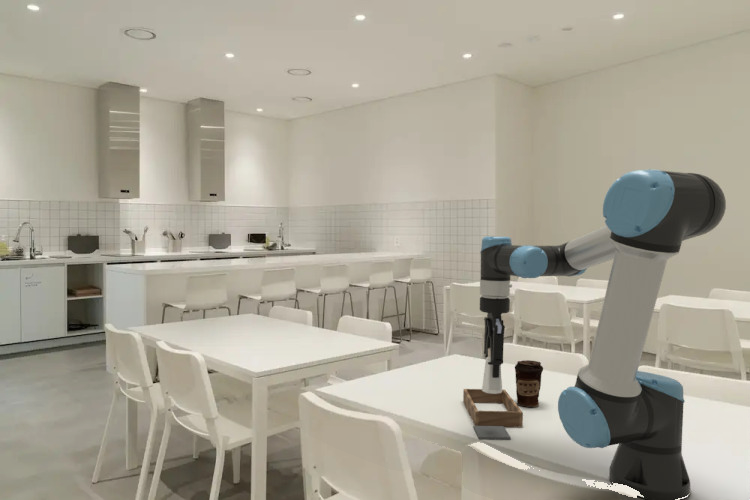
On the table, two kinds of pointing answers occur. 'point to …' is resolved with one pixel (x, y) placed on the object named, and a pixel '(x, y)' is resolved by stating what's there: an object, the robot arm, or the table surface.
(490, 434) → the mat
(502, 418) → the tray
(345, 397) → the table surface
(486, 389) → the salt shaker
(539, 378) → the coffee cup
